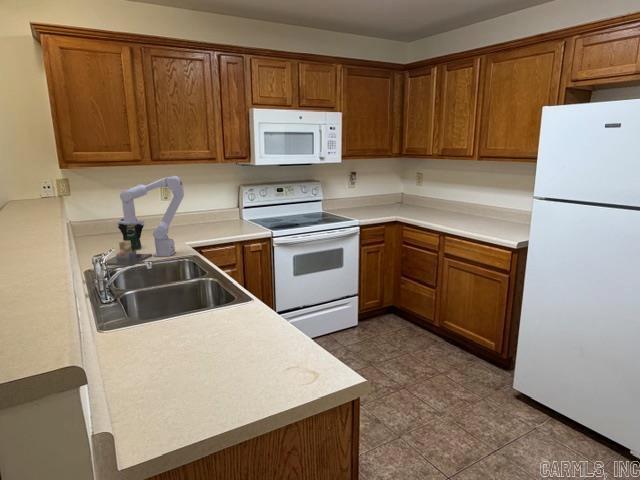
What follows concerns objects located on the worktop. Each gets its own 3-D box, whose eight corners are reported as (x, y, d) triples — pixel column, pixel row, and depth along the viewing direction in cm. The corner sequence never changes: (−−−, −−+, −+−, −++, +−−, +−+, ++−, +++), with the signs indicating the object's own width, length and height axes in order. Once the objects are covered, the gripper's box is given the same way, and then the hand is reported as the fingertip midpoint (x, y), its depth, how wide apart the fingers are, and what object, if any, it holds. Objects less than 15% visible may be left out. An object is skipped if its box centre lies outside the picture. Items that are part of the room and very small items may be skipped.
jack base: (152, 255, 224) (151, 248, 223) (134, 265, 206) (132, 257, 205) (121, 256, 226) (120, 248, 225) (100, 265, 208) (99, 257, 207)
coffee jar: (141, 246, 246) (137, 216, 242) (141, 249, 239) (137, 218, 234) (124, 248, 242) (119, 217, 238) (123, 251, 235) (118, 219, 231)
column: (132, 252, 217) (130, 240, 215) (127, 254, 213) (126, 242, 211) (124, 252, 217) (123, 240, 216) (120, 254, 213) (118, 242, 212)
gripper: (112, 214, 215) (115, 239, 218) (138, 214, 214) (141, 239, 217) (119, 212, 222) (122, 236, 225) (145, 212, 220) (147, 236, 223)
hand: (132, 237), depth 221 cm, fingers open, 7 cm apart
